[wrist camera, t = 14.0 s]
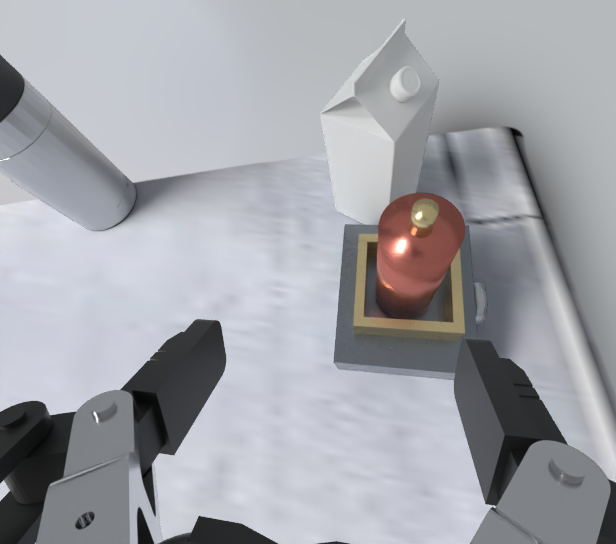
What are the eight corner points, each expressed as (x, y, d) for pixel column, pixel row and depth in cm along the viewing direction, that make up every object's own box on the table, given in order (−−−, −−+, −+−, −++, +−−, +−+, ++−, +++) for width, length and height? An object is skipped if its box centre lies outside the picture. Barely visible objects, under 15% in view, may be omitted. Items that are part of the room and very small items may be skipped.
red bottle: (374, 317, 31) (377, 249, 18) (376, 266, 33) (380, 172, 20) (432, 320, 30) (478, 251, 17) (431, 268, 32) (471, 171, 19)
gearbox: (338, 368, 34) (329, 357, 27) (347, 246, 40) (342, 208, 32) (478, 382, 32) (510, 373, 24) (468, 249, 37) (492, 208, 30)
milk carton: (335, 211, 42) (311, 69, 24) (366, 170, 43) (363, 8, 26) (386, 237, 39) (400, 98, 22) (416, 191, 41) (451, 29, 23)
